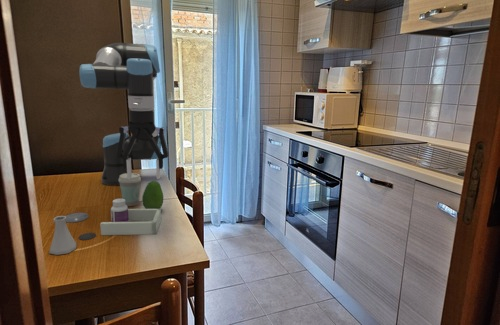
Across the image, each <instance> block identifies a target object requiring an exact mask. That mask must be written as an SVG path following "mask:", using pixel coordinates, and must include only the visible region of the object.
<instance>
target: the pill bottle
mask: <svg viewBox="0 0 500 325" xmlns="http://www.w3.org/2000/svg"><path fill="white" fill-rule="evenodd" d="M125 203H126V202H125V199H122V198H115V199H113V200H112V206H111V208H110V216H111V215H112V221H111V222H130V221H129V216H128V209H129V206H127V205H125Z"/></svg>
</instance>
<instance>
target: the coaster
mask: <svg viewBox="0 0 500 325" xmlns="http://www.w3.org/2000/svg"><path fill="white" fill-rule="evenodd" d="M65 216H66V220H65V221H66V223H68V224H69V223H80V222H82V221H85V220H87V219H88V218H89V214H88V213H86V212H74V213H69V214H67V215H65Z"/></svg>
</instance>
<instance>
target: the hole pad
mask: <svg viewBox="0 0 500 325" xmlns="http://www.w3.org/2000/svg"><path fill="white" fill-rule="evenodd" d="M95 237H97V235H96V233H94V232H86V233H82V234H81V235H79V236H78V240H80V241H89V240H92V239H94V238H95Z"/></svg>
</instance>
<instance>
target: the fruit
mask: <svg viewBox="0 0 500 325" xmlns="http://www.w3.org/2000/svg"><path fill="white" fill-rule="evenodd" d="M141 199H142V205H143V207H144V209H162V207H163V204H164V193H163V190H162V185H161V184H160V183H159V182H158V181H155V180H152V181H150V182H148V183H147V184H146V187H145V189H144V191H143V193H142V197H141Z"/></svg>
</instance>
